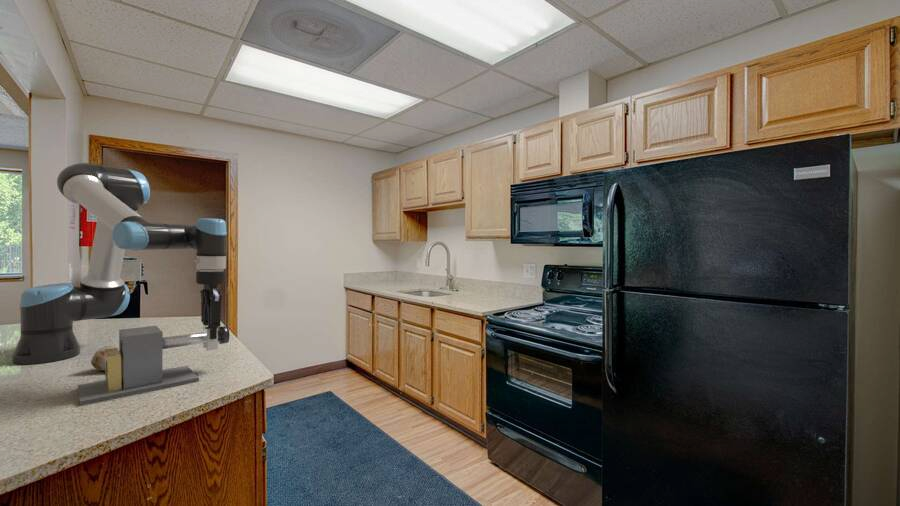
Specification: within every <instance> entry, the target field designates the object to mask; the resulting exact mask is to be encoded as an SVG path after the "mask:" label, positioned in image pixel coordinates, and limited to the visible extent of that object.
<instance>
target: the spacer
mask: <svg viewBox="0 0 900 506" xmlns="http://www.w3.org/2000/svg"><path fill="white" fill-rule="evenodd" d="M118 349H119V347H117V348H110V349H105V371H104V380H105V383H106V386H107V390H108V393H109V392H114V391H119V390H122V385H121V354H120V352H119V350H118Z"/></svg>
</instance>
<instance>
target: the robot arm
mask: <svg viewBox="0 0 900 506" xmlns="http://www.w3.org/2000/svg"><path fill="white" fill-rule="evenodd" d="M149 184H150V183H149V182H148V180H147V178H146V176H145V175H144V174H143V173H141V172H139V171H137V170H132V169H128V168H124V167H123V168H121V167H115V166H108V165H103V164H95V163H88V162H80V163H75V164H74V163H73V164H71V165H69V166H66V167H65V168H63V170H61V171H60V172H59V173H58V176H57V179H56V186H57V189H58V191H59V192H60V194H61V195H62V196H63V197H64V198H65V199H67V200H68V201H70V202H71V203H74V204H77V205H80V206H81V207H83V209H85V210H87V211H88V212H89V213H90V214H92V215H93V216H94V217H96V219H97V220H96V225H95V230H94V238H93V242H92V243H93V244H92V248H91V253H90V260H89V265H88V271H87V274H86V276H83V277H82V278H81V279H80V282H79V285H78V286H74V285H73V284H72V283H68V282H66V283H65V282H63V283H62V282H61V283H51V284H45V285H39V286H34V287H33V286H32V287H29V288H26V289H25V290H24V291H23V292H22V293H21V295H20V303H19V307H20V311H19V312H20V337H19V340H18V342H17V344H16V346H15V349H14V350H13V353H12V358H11V360H12V363H13V364H16V365H35V364H43V363H44V364H45V363H46V364H47V363H50V362H56V361H61V360H67V359H70V358H73V357H76V356H77V355H79V354H80V353H81V346H80V344H79V341H78V339H77V337H76V335H75V333H74V330H73V328H74V327H73V326H74V324H73V322H80V321H86V320H94V319H100V318H104V319H105V318H109V317H112V316H117V315H120V314H122V313H124V311H125V310H126V309H127V308H128V305H129V303H130V300H131V299H130V298H131V294H130V289H129V287H128V286H127V285H126V284H125V281H124V280H123V279H121V273H122V268H123V263H124V257H125V252H126V250H132V251H141V250H145V251H148V250H149V251H150V250H153V251H154V250H184V251H185V250H196V259H195V258H194V263H196V269H197V271H196V272H195V282H196V284H197V285H203V289H200V292H199V293H200V300H201V301H200V302H201V303H200V305H201V308H200V312H201V318H200V321H201V323H202V325H203V327H202V330H203V331H202V332H207V343H202V348H204V349H205V348H206V351H207V352H209V351H215V350H218V348H219V347H218V346H219V343H218V327H221V324H222V323H221V321H222V320H221V314H222V313H221V312H222V299H223V294H222V293H221V290H220V289H219V285H221V284H225V283H226V281H227V279H226V277H227V275H226V271H225V270H226V269H227V234H228V232H227V223H226V221H225V220H224V219H222V218H208V217H207V218H206V217H205V218H204V217H203V218H202V217H201V218H200V217H199V218H198V219H197V220H196V224H180V223H179V224H178V223H177V224H175V223H161V222H160V223H159V222H157V223H156V222H149V221H148V220H147V219H145V218H144V217H143V216H141V215H140V214H139V213H138V211H139V210H140V209H139V208H140V206H142V205H145V204H147V203H148V202H149V199H150V197H151V188H150V187H151V186H150V185H149Z"/></svg>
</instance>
